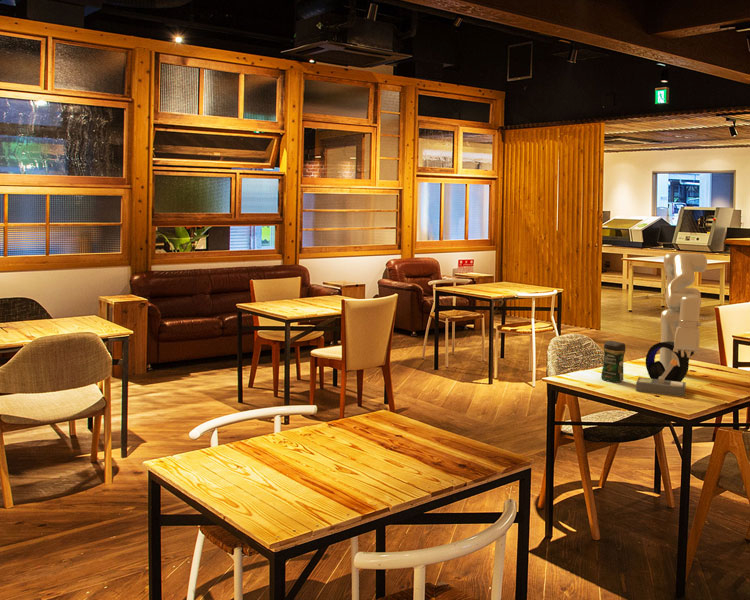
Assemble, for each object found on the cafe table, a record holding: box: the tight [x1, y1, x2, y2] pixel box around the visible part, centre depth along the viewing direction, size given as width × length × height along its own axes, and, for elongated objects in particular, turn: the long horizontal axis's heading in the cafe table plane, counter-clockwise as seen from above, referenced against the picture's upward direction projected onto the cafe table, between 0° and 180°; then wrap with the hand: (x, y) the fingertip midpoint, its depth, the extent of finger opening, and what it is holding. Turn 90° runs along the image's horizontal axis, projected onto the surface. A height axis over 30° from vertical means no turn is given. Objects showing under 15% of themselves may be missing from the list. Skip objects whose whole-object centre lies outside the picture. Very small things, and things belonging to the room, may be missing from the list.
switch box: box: [635, 376, 687, 398], centre depth 344 cm, size 11×20×6 cm, turn 66°
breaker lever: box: [660, 359, 678, 379], centre depth 343 cm, size 3×2×12 cm
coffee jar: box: [600, 340, 627, 383], centre depth 361 cm, size 10×8×19 cm
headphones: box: [645, 341, 690, 382], centre depth 356 cm, size 19×7×20 cm, turn 38°
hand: (684, 365), depth 339 cm, fingers closed
